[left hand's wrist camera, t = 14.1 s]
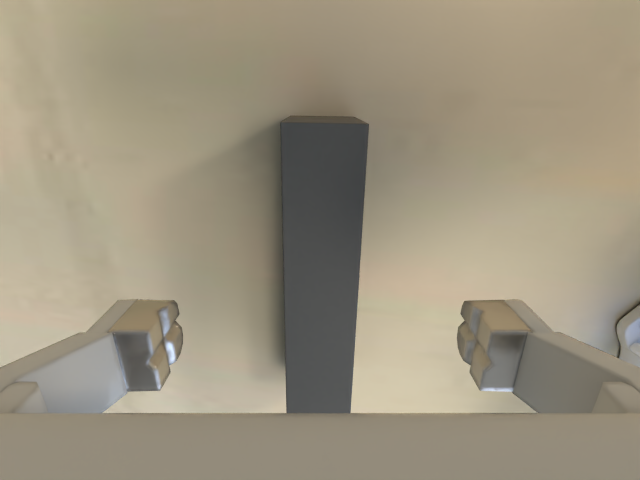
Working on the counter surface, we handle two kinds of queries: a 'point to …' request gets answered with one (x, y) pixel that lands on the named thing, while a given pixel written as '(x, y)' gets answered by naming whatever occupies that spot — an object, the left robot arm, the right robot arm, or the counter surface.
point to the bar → (321, 257)
